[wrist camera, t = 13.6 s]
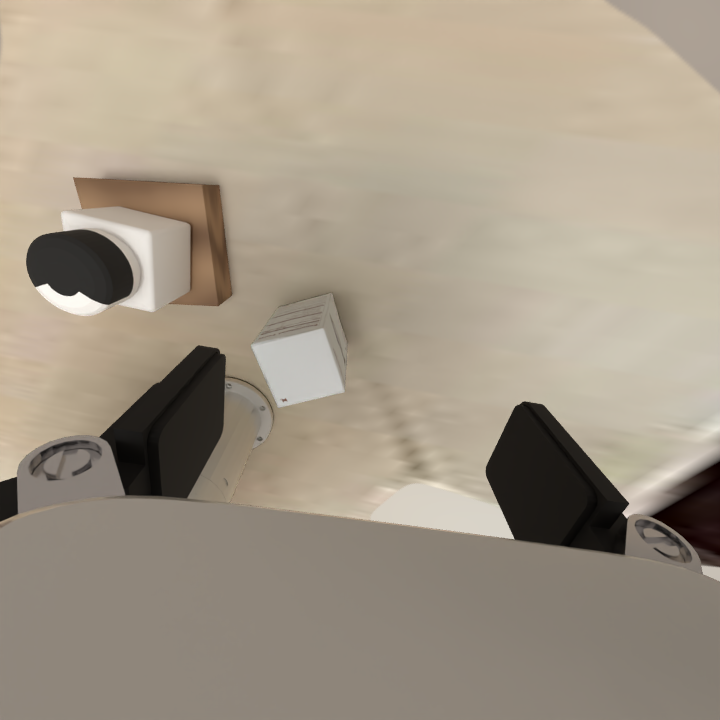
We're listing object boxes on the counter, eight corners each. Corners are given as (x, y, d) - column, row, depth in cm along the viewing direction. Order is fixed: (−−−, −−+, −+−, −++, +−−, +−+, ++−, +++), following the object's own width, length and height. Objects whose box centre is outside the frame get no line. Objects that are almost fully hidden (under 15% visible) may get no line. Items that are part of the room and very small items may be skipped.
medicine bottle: (117, 205, 33) (-3, 214, 23) (191, 223, 34) (108, 240, 23) (123, 276, 36) (20, 314, 26) (191, 292, 37) (117, 335, 26)
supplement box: (349, 343, 45) (346, 395, 34) (295, 356, 46) (275, 410, 35) (333, 290, 42) (325, 327, 31) (276, 304, 43) (247, 346, 31)
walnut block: (233, 293, 42) (218, 306, 38) (134, 289, 42) (108, 301, 38) (220, 185, 37) (201, 184, 33) (107, 179, 37) (73, 177, 32)
